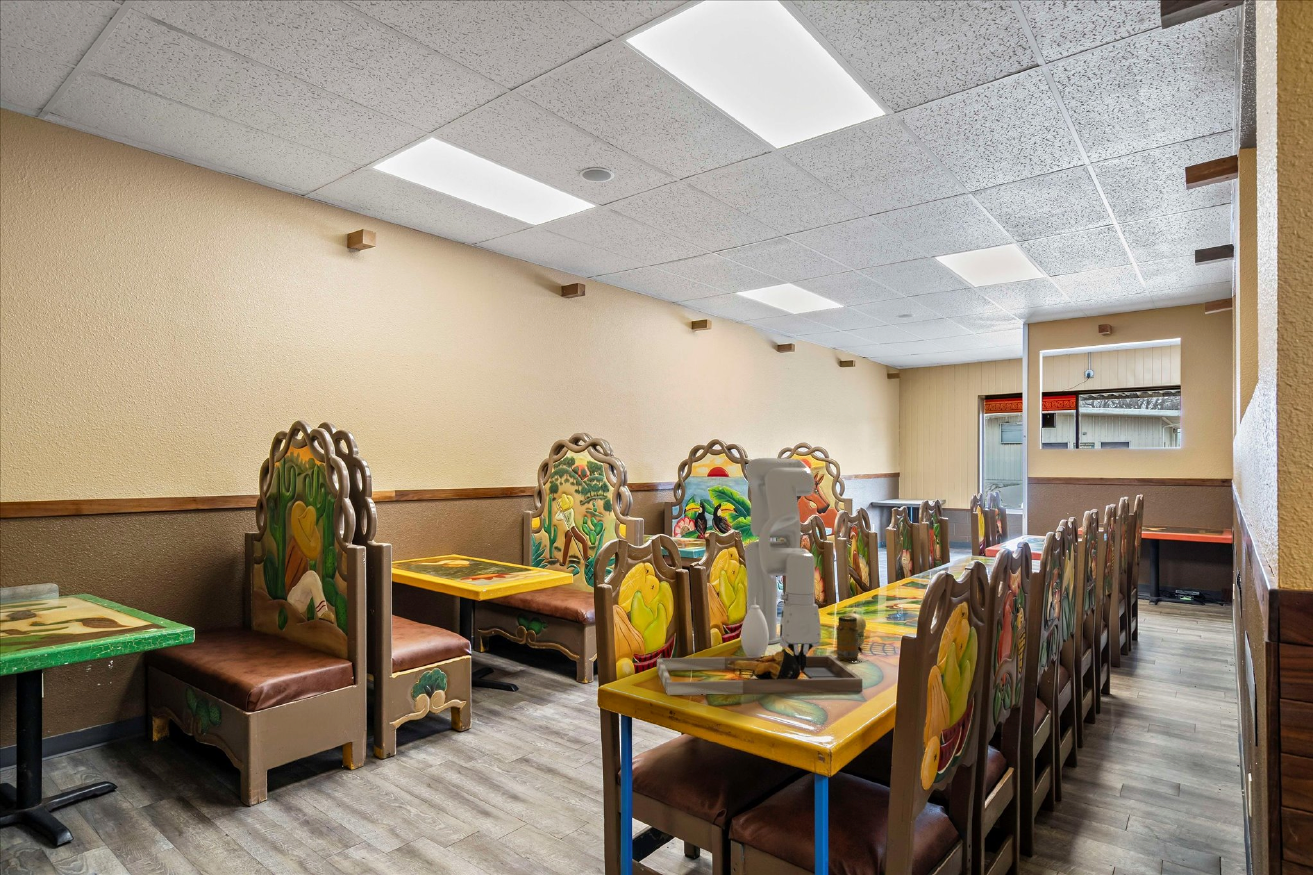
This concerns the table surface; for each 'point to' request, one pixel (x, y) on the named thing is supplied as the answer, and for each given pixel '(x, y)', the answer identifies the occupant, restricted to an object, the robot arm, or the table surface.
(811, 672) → the tray box
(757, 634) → the white bulb syringe
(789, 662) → the leather work glove
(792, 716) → the table surface
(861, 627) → the pale rounded lump
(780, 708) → the table surface
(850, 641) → the condiment
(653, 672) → the table surface
